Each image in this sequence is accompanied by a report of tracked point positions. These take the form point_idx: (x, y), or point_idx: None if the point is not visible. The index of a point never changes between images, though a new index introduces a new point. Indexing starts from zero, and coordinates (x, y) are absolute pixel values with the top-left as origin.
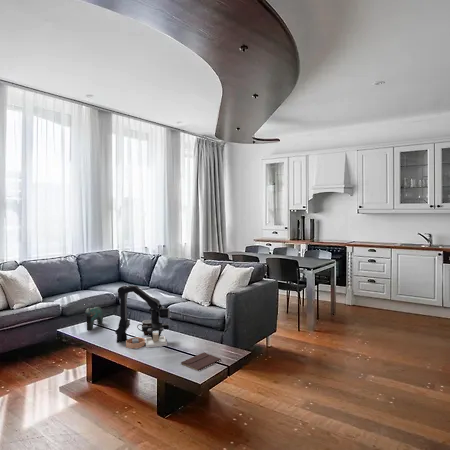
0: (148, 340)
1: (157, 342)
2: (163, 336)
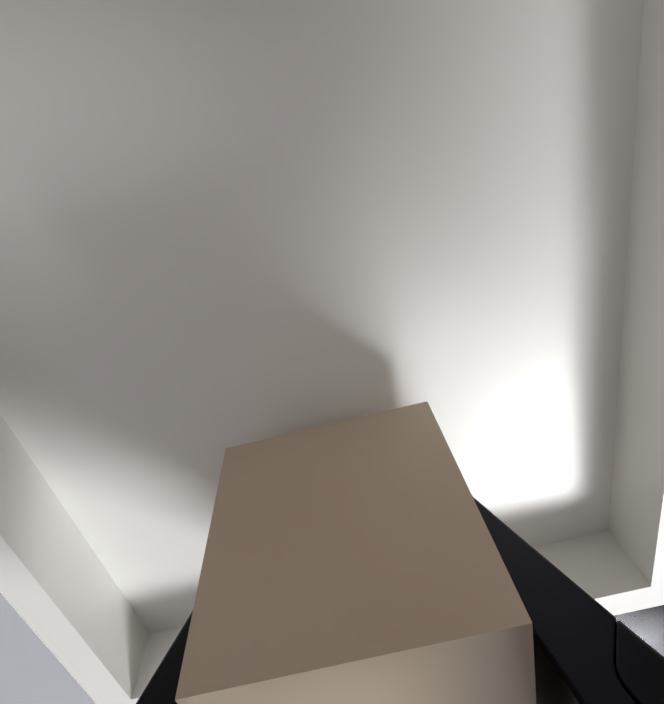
0: (553, 517)
1: (257, 374)
2: (138, 693)
